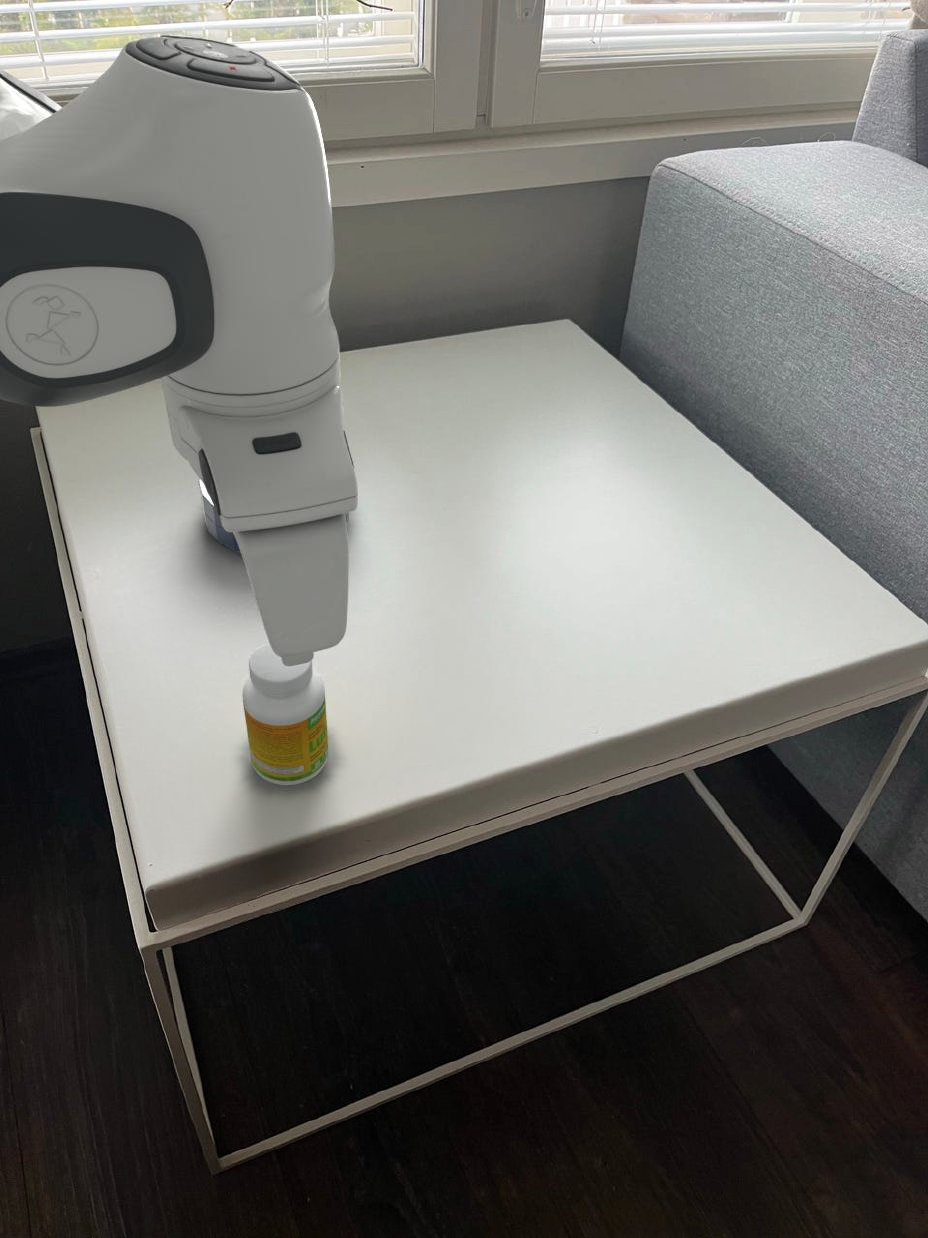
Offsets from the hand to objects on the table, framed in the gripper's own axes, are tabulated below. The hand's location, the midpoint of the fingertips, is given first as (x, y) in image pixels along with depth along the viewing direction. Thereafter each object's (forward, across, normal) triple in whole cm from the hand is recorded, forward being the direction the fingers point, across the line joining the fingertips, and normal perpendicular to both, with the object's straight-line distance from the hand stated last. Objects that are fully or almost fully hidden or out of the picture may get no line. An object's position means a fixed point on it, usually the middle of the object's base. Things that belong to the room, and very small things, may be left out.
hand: (279, 604), depth 59 cm
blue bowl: (+14, -28, +4) cm, 32 cm away
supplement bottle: (+15, 0, 0) cm, 15 cm away
